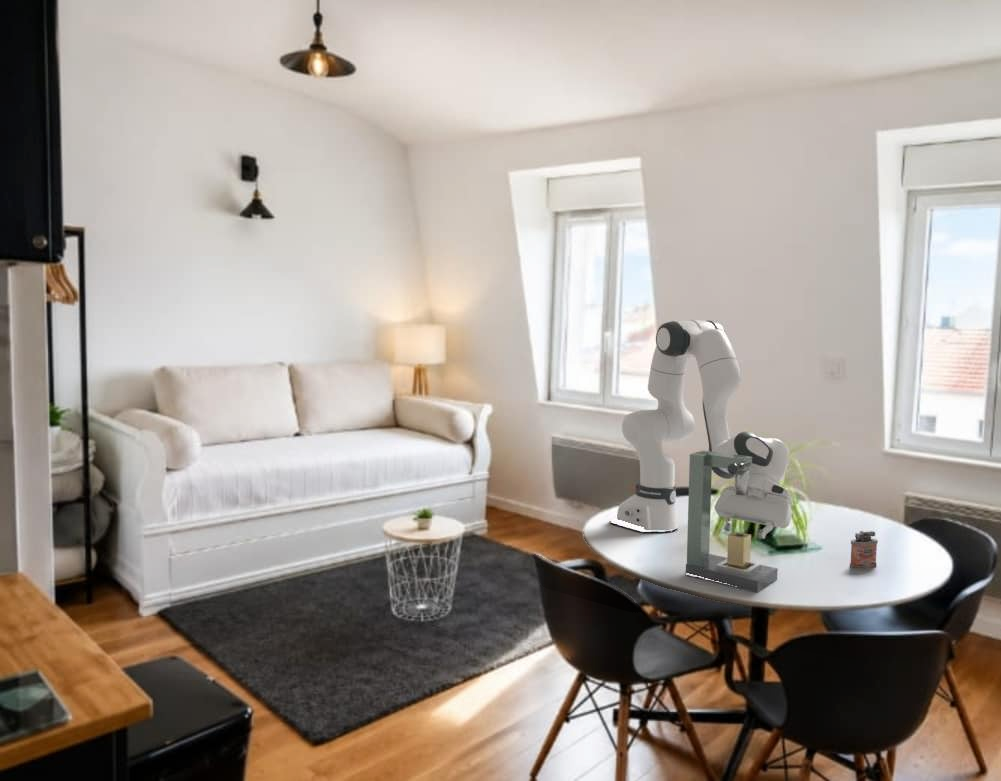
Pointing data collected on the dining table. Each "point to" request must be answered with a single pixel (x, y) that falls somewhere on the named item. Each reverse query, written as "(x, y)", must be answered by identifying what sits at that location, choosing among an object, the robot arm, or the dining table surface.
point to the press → (700, 522)
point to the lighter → (863, 550)
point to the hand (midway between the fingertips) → (743, 533)
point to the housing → (739, 550)
